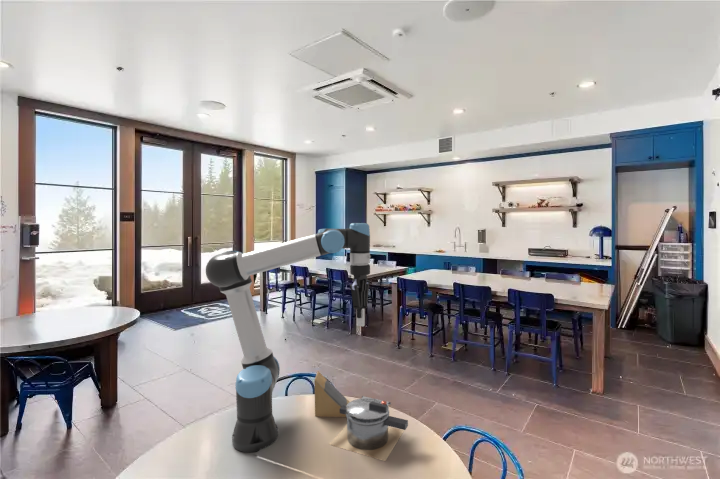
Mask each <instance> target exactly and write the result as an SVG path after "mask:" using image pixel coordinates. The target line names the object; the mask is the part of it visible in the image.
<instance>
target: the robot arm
mask: <svg viewBox="0 0 720 479" xmlns="http://www.w3.org/2000/svg"><path fill="white" fill-rule="evenodd" d="M342 249H349V258H350V259H349V263H350V265H349V267H350V269H349V271H350V275H352V276H353V280H352V282H353V283H352V284H350V285H349V288H350V290H351V300H352V308H353V310H355V311H356V326H357V327H364V326H365V325H366V324H365V323H366V322H365V316H366V315H365V311H366V310H365V309H367V308H368V303H369V302H368V300H369V289H370V282H371V280H370V279H368V276H369V275H370V274H371V265H370V263H371V259H372V258H371V257H372V255H371V232H370V225H369V224H368V223H365V222H361V223H360V222H352V223H350V224H349V228H347V227H346V228H320V229H318V231H317V233H316V234H315V233H314V234H312V235H311V234H310V235H307V236H304V237H300V238H296V239H291V240H290V241H286V242H282V243H279V244H274V245H271V246H268V247H263V248H260V249H257V250H252V251H249V252H245V253H243V252H241V251H238V250H228V251H224V252H221V253H218V254H216V255H214V256H213V257H211V258H210V259H209V260H208V262H206V266H205V277H206V278H207V280H208V281H209V283H211V284H212V285H213V286H215V287H218V289H219V291H220V293H222V294H224V295H225V296H226V300H227V303H228V307H229V309H230V313H231V314H230V315H231V317H232V320H233V322H234V324H233V325H234V327H235V331H236V333H237V337H238V341H239V343H240V347H241V352H242V353H243V357H242V359H241V360H240V362H241V365H242V370H241V371H239V373H238V374H237V375H236V379H235V394H236V395H235V397H236V398H235V399H236V421H235V425H234V427H233V428H234V429H233V431H232V434H231V439H232V440H231V445H232V447H233V448H234V449H235V450H237V451H239V452H243V453H255V452H260V451H261V450H262V449H265V448H268V447H269V446H271V445H272V444H273V443H275V442H276V441H277V439H278V437H279V436H278V435H279V429H278V428H279V427H278V425H277V423H276V420H275V418H274V415H273V392H274V389H275V386H276V385H277V381H278V379H279V376H280V363H279V361H278V360H277V358H276V357H275V356H274V354H273V350H272V349H271V348H269V347H267V344H266V342H265V337H264V334H263V333H264V332H263V331H262V327H261V323H260V320H259V316H258V313H257V310H256V307H255V303H254V299H253V295H252V292H251V289H250V288H251V285H252V284H253V280H252V277H251V276H253V275H257V274H260V273H263V272H267V271H271V270H274V269H277V268H281V267H285V266H288V265H291V264H296V263H299V262H302V261H306V260H309V259H310V260H311V259H312V258H313V259H314V258H317V257H320V256H325V255H327V254H335V253H339V252H340V251H341V250H342Z"/></svg>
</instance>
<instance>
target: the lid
mask: <svg viewBox="0 0 720 479" xmlns="http://www.w3.org/2000/svg"><path fill="white" fill-rule="evenodd" d="M389 405H392V402H390V401H387V400H382V399H378V398H372V397H368V396H364V395H362V396H361V398H357V399H353V400H351V401H349V403H348V404H347V406H346V411H347V413H348V414H349V415H351V416H353V417H355V418H358V419H364V420H374V419H379V418H382V417H385V416H386V415H387V414H388V412H389V413H390V407H389Z"/></svg>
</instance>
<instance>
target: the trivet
mask: <svg viewBox="0 0 720 479" xmlns="http://www.w3.org/2000/svg"><path fill="white" fill-rule="evenodd" d="M404 432H405V430H403V429H399V428H395V427H391V426H388V441H387V443H386V444H385V445H384V446H382V447H381V448H378V449H374V450H361V449H358V448H355V447H353V446H352V445H350V443H349V442H348V440H347V424H346V425H345V426H344V427H343V429H341V430H340V431H339V432H338V433H337V435H336V436H335V437H334V438H333V439H332V440H331V441H330V442H329V444H328V445H329V446H333V447H336V448H340V449H343V450H346V451H349V452H353V453H355V454H356V453H357V454H359V455H364V456H367V457H369V458H373V459H377V460H379V461H380V460H381V461H383V462H386V461H387V460H388V457H389V456H390V455H391V453H392V452H393V449H394V448H395V446H396V444H398V441H399V440H400V439H401V437H402V435H403V434H404Z"/></svg>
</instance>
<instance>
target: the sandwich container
mask: <svg viewBox="0 0 720 479" xmlns="http://www.w3.org/2000/svg"><path fill="white" fill-rule="evenodd" d="M313 384H314V417H318V418H319V417H324V418H325V417H328V418H331V417H332V418H335V417H337V418H339V417H341V418H343V417H344V418H345V417H346V415H345V414H341V413H340V408H341V407H342V406H343V405H344V406H347V404H348V403H349V402H350V401H349V399H348V398H346V397H345V396H344V395H343V394H342V393H341V392H340V391H339V390H338V389H337V388H336V387H335V386H334V385H333V384H332V383H331V382H330V381H329V380H328V379H327V378H326V377H325V376H324V375H323V374H321V372H320V371H317V372H316V374H315V378H314V383H313ZM346 418H347V417H346Z"/></svg>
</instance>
